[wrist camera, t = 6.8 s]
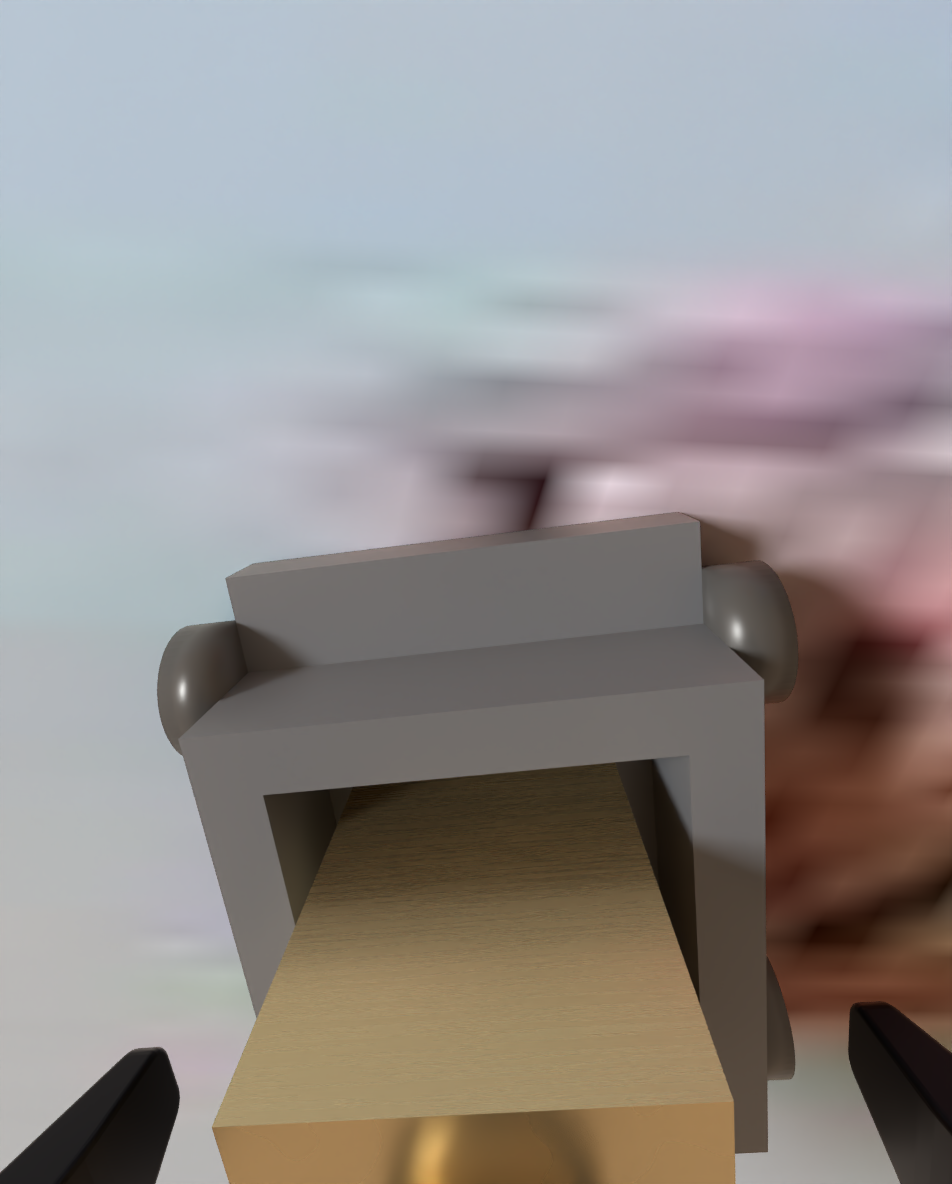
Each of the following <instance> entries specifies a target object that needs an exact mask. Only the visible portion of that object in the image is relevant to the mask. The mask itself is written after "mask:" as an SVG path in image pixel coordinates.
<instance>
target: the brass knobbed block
mask: <svg viewBox="0 0 952 1184" xmlns="http://www.w3.org/2000/svg"><path fill="white" fill-rule="evenodd" d="M212 1129H213V1133H214V1136H215V1139H216V1142H217V1145H218V1148H219V1152H220V1155H221V1158H222V1161H223V1164H224V1167H225V1171H226V1174H227V1177H228V1180H229V1183H230V1184H735V1136H734V1100H733V1098H732V1095H731V1092H730V1089H729V1086H728V1083H727V1081H726V1078H725V1075H724V1072H723V1069H722V1066H721V1063H720V1061H719V1058H718V1055H717V1052H716V1049H715V1046H714V1044H713V1041H712V1038H711V1035H710V1032H709V1029H708V1026H707V1024H706V1021H705V1018H704V1015H703V1012H702V1009H701V1006H700V1004H699V1001H698V998H697V995H696V992H695V989H694V987H693V984H692V981H691V978H690V975H689V972H688V969H687V967H686V964H685V961H684V958H683V955H682V952H681V950H680V947H679V944H678V941H677V938H676V935H675V932H674V930H673V927H672V924H671V921H670V918H669V915H668V913H667V910H666V907H665V904H664V901H663V898H662V895H661V893H660V890H659V887H658V884H657V881H656V878H655V876H654V873H653V870H652V867H651V864H650V861H649V858H648V856H647V853H646V850H645V847H644V844H643V841H642V839H641V836H640V833H639V830H638V827H637V824H636V821H635V819H634V816H633V813H632V810H631V807H630V804H629V802H628V799H627V796H626V793H625V790H624V787H623V784H622V782H621V779H620V776H619V773H618V770H617V767H616V764H615V762H613V763H602V764H592V765H581V766H570V767H559V768H549V769H538V770H527V771H517V772H506V773H495V774H485V775H474V776H463V777H453V778H442V779H431V780H420V781H410V782H399V783H388V784H378V785H367V786H356V787H353V788H352V790H351V793H350V795H349V798H348V800H347V803H346V805H345V807H344V810H343V812H342V815H341V817H340V819H339V822H338V824H337V827H336V829H335V831H334V834H333V836H332V839H331V841H330V844H329V846H328V848H327V851H326V853H325V856H324V858H323V860H322V863H321V865H320V868H319V870H318V872H317V875H316V877H315V880H314V882H313V885H312V887H311V889H310V892H309V894H308V897H307V899H306V901H305V904H304V906H303V909H302V911H301V913H300V916H299V918H298V921H297V923H296V926H295V928H294V930H293V933H292V935H291V938H290V940H289V942H288V945H287V947H286V950H285V952H284V954H283V957H282V959H281V962H280V964H279V967H278V969H277V971H276V974H275V976H274V979H273V981H272V983H271V986H270V988H269V991H268V993H267V995H266V998H265V1000H264V1003H263V1005H262V1008H261V1010H260V1012H259V1015H258V1017H257V1020H256V1022H255V1024H254V1027H253V1029H252V1032H251V1034H250V1036H249V1039H248V1041H247V1044H246V1046H245V1049H244V1051H243V1053H242V1056H241V1058H240V1061H239V1063H238V1065H237V1068H236V1070H235V1073H234V1075H233V1077H232V1080H231V1082H230V1085H229V1087H228V1090H227V1092H226V1094H225V1097H224V1099H223V1102H222V1104H221V1106H220V1109H219V1111H218V1114H217V1116H216V1118H215V1121H214V1123H213V1126H212Z"/></svg>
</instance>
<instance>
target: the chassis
mask: <svg viewBox="0 0 952 1184" xmlns="http://www.w3.org/2000/svg"><path fill="white" fill-rule="evenodd" d="M225 579H226V583H227V587H228V591H229V596H230V600H231V604H232V608H233V612H234V616H235V620H234V621H225V622H216V623H208V624H199V625H190V626H186V627H184V628H182V629H180V630H179V631H178V632H176V633H175V635H174V636H173V637H172V638H171V640H170V641H169V643H168V645H167V647H166V648H165V651H164V654H163V656H162V660H161V663H160V668H159V673H158V683H157V696H158V707H159V713H160V718H161V722H162V725H163V728H164V731H165V733H166V735H167V737H168V739H169V741H170V743H171V744H172V746H173V747H174V748H175V750H176V751H177V752H178V753H180V754H181V755H182V756H183V758H184V761H185V765H186V768H187V772H188V775H189V779H190V783H191V786H192V790H193V793H194V797H195V800H196V804H197V808H198V811H199V815H200V818H201V822H202V825H203V829H204V832H205V836H206V840H207V843H208V847H209V850H210V854H211V857H212V861H213V865H214V868H215V872H216V875H217V879H218V882H219V886H220V889H221V893H222V897H223V900H224V904H225V907H226V911H227V914H228V918H229V922H230V925H231V929H232V932H233V936H234V939H235V943H236V946H237V950H238V954H239V957H240V961H241V964H242V968H243V971H244V975H245V979H246V982H247V986H248V989H249V993H250V996H251V1000H252V1003H253V1007H254V1011H255V1014H256V1018H257V1017H258V1015H259V1012H260V1010H261V1008H262V1005H263V1003H264V1000H265V998H266V995H267V993H268V991H269V988H270V986H271V983H272V981H273V979H274V976H275V974H276V971H277V969H278V967H279V964H280V962H281V959H282V957H283V954H284V952H285V950H286V947H287V945H288V942H289V940H290V938H291V935H292V933H293V930H294V928H295V926H296V923H297V921H298V918H299V916H300V913H301V911H302V909H303V906H304V904H305V901H306V899H307V897H308V894H309V892H310V889H311V887H312V885H313V882H314V880H315V877H316V875H317V872H318V870H319V868H320V865H321V863H322V860H323V858H324V856H325V853H326V851H327V848H328V846H329V844H330V841H331V839H332V836H333V834H334V831H335V829H336V827H337V824H338V822H339V819H340V817H341V815H342V812H343V810H344V807H345V805H346V803H347V800H348V798H349V795H350V793H351V790H352V788H353V787H356V786H367V785H378V784H388V783H399V782H410V781H420V780H431V779H442V778H453V777H463V776H474V775H485V774H495V773H506V772H517V771H527V770H538V769H549V768H559V767H570V766H581V765H592V764H602V763H613V762H615V764H616V767H617V770H618V773H619V776H620V779H621V782H622V784H623V787H624V790H625V793H626V796H627V799H628V802H629V804H630V807H631V810H632V813H633V816H634V819H635V821H636V824H637V827H638V830H639V833H640V836H641V839H642V841H643V844H644V847H645V850H646V853H647V856H648V858H649V861H650V864H651V867H652V870H653V873H654V876H655V878H656V881H657V884H658V887H659V890H660V893H661V895H662V898H663V901H664V904H665V907H666V910H667V913H668V915H669V918H670V921H671V924H672V927H673V930H674V932H675V935H676V938H677V941H678V944H679V947H680V950H681V952H682V955H683V958H684V961H685V964H686V967H687V969H688V972H689V975H690V978H691V981H692V984H693V987H694V989H695V992H696V995H697V998H698V1001H699V1004H700V1006H701V1009H702V1012H703V1015H704V1018H705V1021H706V1024H707V1026H708V1029H709V1032H710V1035H711V1038H712V1041H713V1044H714V1046H715V1049H716V1052H717V1055H718V1058H719V1061H720V1063H721V1066H722V1069H723V1072H724V1075H725V1078H726V1081H727V1083H728V1086H729V1089H730V1092H731V1095H732V1098H733V1100H734V1136H735V1154H737V1153H758V1152H768V1112H767V1081H769V1080H786V1079H791V1078H792V1077H793V1075H794V1071H795V1051H794V1043H793V1037H792V1031H791V1026H790V1022H789V1018H788V1014H787V1010H786V1006H785V1003H784V999H783V996H782V993H781V990H780V987H779V984H778V981H777V978H776V976H775V973H774V971H773V968H772V966H771V964H770V962H769V959H768V957H767V955H766V858H765V731H764V704H769V703H779V702H782V701H784V700H786V699H787V698H788V696H789V695H790V694H791V692H792V690H793V687H794V684H795V681H796V676H797V669H798V641H797V632H796V626H795V621H794V616H793V612H792V609H791V605H790V602H789V599H788V596H787V594H786V591H785V589H784V587H783V585H782V583H781V581H780V579H779V578H778V576H777V575H776V573H775V572H774V571H773V569H772V568H771V567H770V566H768V565H767V564H766V563H764V562H762V561H747V562H739V563H730V564H721V565H713V566H704V567H701V539H700V521H698V520H696V519H693V518H691V517H689V516H687V515H684V514H682V513H680V512H674V513H666V514H657V515H649V516H641V517H633V518H624V519H616V520H608V521H600V522H591V523H583V524H575V525H567V526H559V527H550V528H542V529H534V530H526V531H517V532H509V533H501V534H493V535H484V536H476V537H468V538H460V539H451V540H443V541H435V542H427V543H419V544H410V545H402V546H394V547H386V548H377V549H369V550H361V551H353V552H344V553H336V554H328V555H320V556H311V557H303V558H295V559H287V560H279V561H270V562H262V563H254V564H251V565H250V566H248V567H246V568H244V569H242V570H240V571H238V572H236V573H234V574H232V575H231V576H229V577H227V578H225Z"/></svg>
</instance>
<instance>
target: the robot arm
mask: <svg viewBox="0 0 952 1184" xmlns="http://www.w3.org/2000/svg"><path fill="white" fill-rule="evenodd" d="M848 1052H849V1060H850V1064H851V1068H852V1071H853V1074H854V1076H855V1079H856V1081H857V1083H858V1086H859V1088H860V1090H861V1093H862V1095H863V1097H864V1100H865V1102H866V1104H867V1107H868V1109H869V1111H870V1114H871V1116H872V1118H873V1121H874V1123H875V1125H876V1128H877V1130H878V1132H879V1134H880V1137H881V1139H882V1141H883V1144H884V1146H885V1148H886V1151H887V1153H888V1155H889V1158H890V1160H891V1162H892V1165H893V1167H894V1169H895V1172H896V1174H897V1176H898V1179H899V1181H900V1183H901V1184H952V1053H951V1052H950V1051H949V1050H947V1049H946V1048H945V1047H944V1046H942V1045H941V1044H940V1043H939V1042H937V1041H936V1040H935V1039H934V1038H932V1037H931V1036H930V1035H929V1034H927V1033H926V1032H925V1031H924V1030H922V1029H921V1028H920V1027H919V1026H917V1025H916V1024H915V1023H914V1022H912V1021H911V1020H910V1019H909V1018H907V1017H906V1016H905V1015H904V1014H902V1013H901V1012H900V1011H899V1010H897V1009H896V1008H895V1007H893V1006H892V1005H890V1004H888V1003H886V1002H881V1001H877V1002H861V1003H855V1004H853V1005H852V1007H851V1009H850V1020H849V1047H848ZM179 1101H180V1095H179V1088H178V1085H177V1082H176V1079H175V1076H174V1073H173V1070H172V1067H171V1064H170V1061H169V1058H168V1055H167V1053H166V1051H165V1050H164V1049H163V1048H161V1047H151V1048H138V1049H134V1050H132V1051H130V1052H129V1053H127V1054H126V1055H125V1056H124V1057H123V1058H122V1059H121V1060H120V1061H119V1062H117V1063H116V1064H115V1065H114V1066H113V1067H112V1068H111V1069H110V1070H109V1071H108V1072H107V1073H106V1074H105V1075H104V1076H103V1077H101V1078H100V1079H99V1080H98V1081H97V1082H96V1083H95V1084H94V1085H93V1086H92V1087H91V1088H90V1089H89V1090H88V1091H87V1092H86V1093H84V1094H83V1095H82V1096H81V1097H80V1098H79V1099H78V1100H77V1101H76V1102H75V1103H74V1104H73V1105H72V1106H71V1107H70V1108H68V1109H67V1110H66V1111H65V1112H64V1113H63V1114H62V1115H61V1116H60V1117H59V1118H58V1119H57V1120H56V1121H55V1122H54V1123H53V1124H51V1125H50V1126H49V1127H48V1128H47V1129H46V1130H45V1131H44V1132H43V1133H42V1134H41V1135H40V1136H39V1137H38V1138H37V1139H35V1140H34V1141H33V1142H32V1143H31V1144H30V1145H29V1146H28V1147H27V1148H26V1149H25V1150H24V1151H23V1152H22V1153H21V1154H20V1155H18V1156H17V1157H16V1158H15V1159H14V1160H13V1161H12V1162H11V1163H10V1164H9V1165H8V1166H7V1167H6V1168H5V1169H4V1170H2V1171H1V1172H0V1184H155V1183H156V1180H157V1177H158V1174H159V1171H160V1167H161V1164H162V1161H163V1158H164V1155H165V1151H166V1148H167V1145H168V1142H169V1139H170V1136H171V1132H172V1129H173V1126H174V1123H175V1120H176V1116H177V1113H178V1108H179Z"/></svg>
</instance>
